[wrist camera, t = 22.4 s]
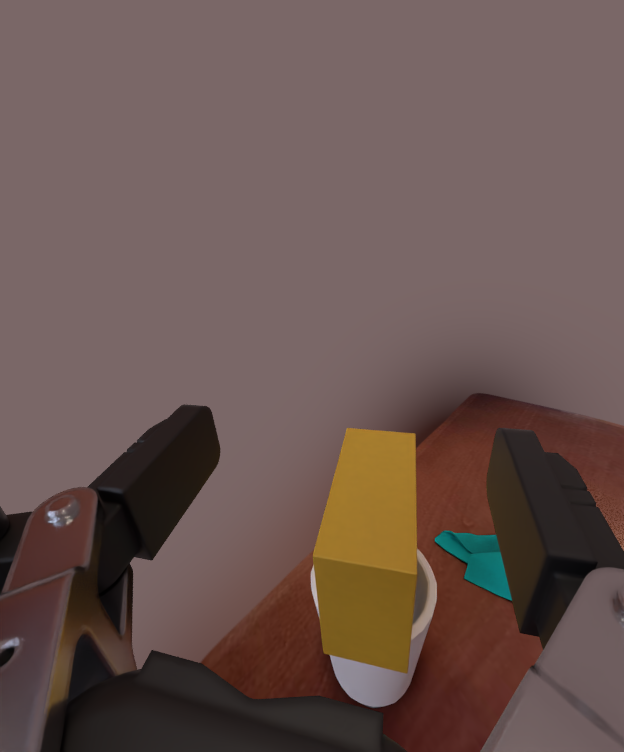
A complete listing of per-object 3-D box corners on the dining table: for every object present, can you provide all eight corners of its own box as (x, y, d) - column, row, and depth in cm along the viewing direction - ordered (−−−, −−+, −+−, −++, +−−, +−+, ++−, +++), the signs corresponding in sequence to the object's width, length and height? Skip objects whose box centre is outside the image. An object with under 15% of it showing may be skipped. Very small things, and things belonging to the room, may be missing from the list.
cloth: (752, 642, 33) (764, 629, 32) (733, 784, 26) (748, 772, 25) (481, 491, 52) (483, 480, 51) (424, 549, 44) (426, 536, 43)
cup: (305, 632, 37) (293, 550, 31) (386, 592, 40) (389, 511, 34) (350, 756, 29) (345, 676, 23) (449, 693, 32) (466, 609, 26)
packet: (322, 653, 24) (311, 555, 19) (349, 513, 34) (346, 427, 30) (408, 675, 23) (418, 574, 18) (409, 521, 33) (416, 433, 28)
